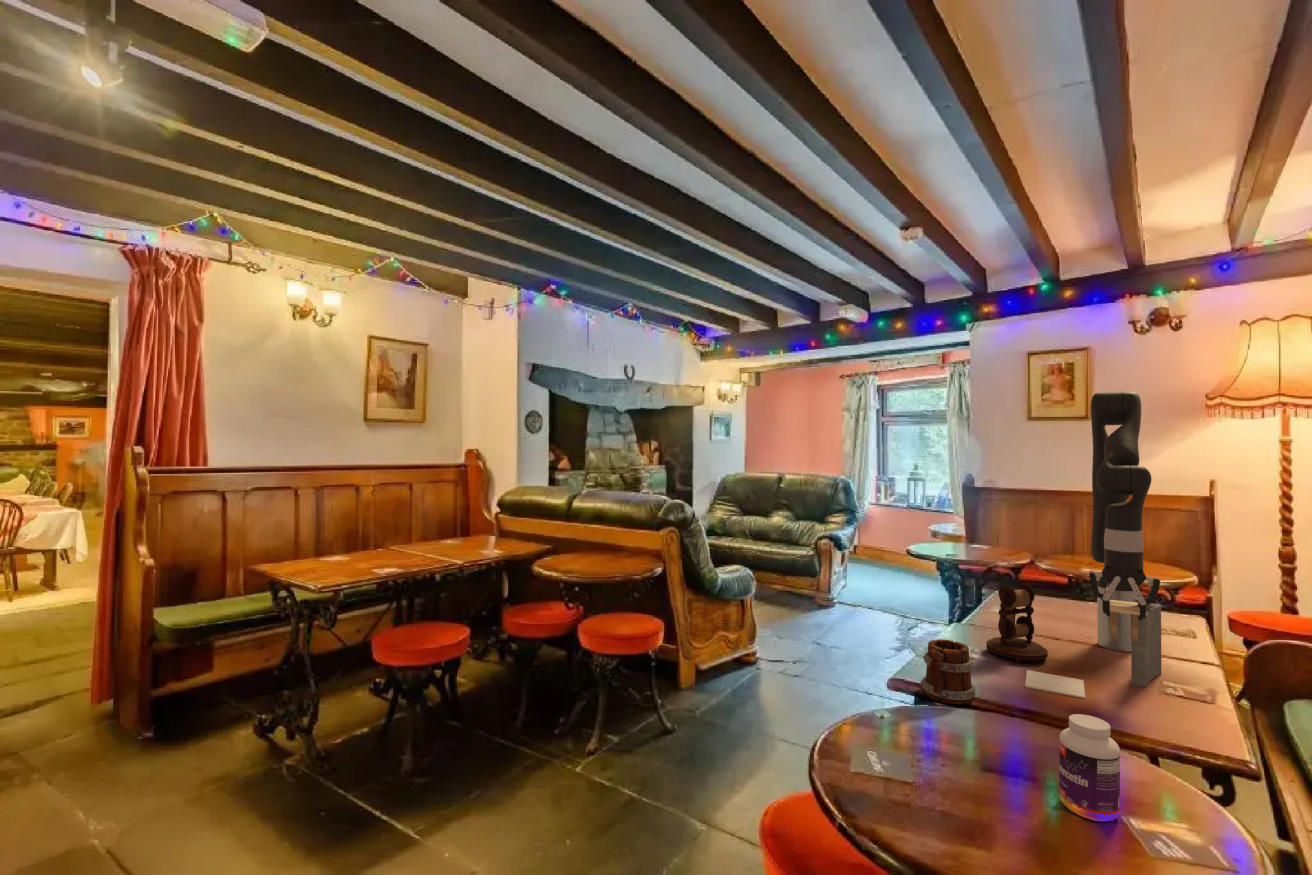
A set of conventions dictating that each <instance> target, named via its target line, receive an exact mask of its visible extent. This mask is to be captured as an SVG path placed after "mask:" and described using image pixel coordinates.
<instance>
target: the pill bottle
mask: <svg viewBox="0 0 1312 875" xmlns="http://www.w3.org/2000/svg"><path fill="white" fill-rule="evenodd" d="M1111 734H1112V733H1111V725H1110V723H1108V722H1107V721H1105V720H1103V718H1099V717H1095V716H1092V715H1088V714H1082V713H1081V714H1079V713H1074V714H1071V715H1069V717H1068V727H1066V728H1065V729H1063V730H1062V731H1061V732H1060V734H1059V741H1058V742H1059V750H1058V751H1059V753H1058V754H1059V758H1058V759H1059V763H1058V764H1059V766H1058V769H1059V773H1058V774H1059V775H1058V778H1059V779H1058V780H1059V781H1058V793H1059V792H1060V795H1061V796H1062V797H1063V798H1064V799H1065V800H1066V801H1068V802H1069V803H1070V804H1073V805H1075V806H1077V807H1078V808H1082V809H1084V810H1086V811H1088V812H1093V813H1098V814H1104V815H1106V814H1107V815H1109V814H1114V813H1117V812H1119V811H1120V812H1121V748H1120V746H1119V744H1118V743H1117V742H1116V741H1115V740H1114V739H1113V738H1111V737H1110V736H1111Z"/></svg>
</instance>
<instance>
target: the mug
mask: <svg viewBox="0 0 1312 875" xmlns="http://www.w3.org/2000/svg"><path fill="white" fill-rule="evenodd" d="M969 649H970V648H969V646H968V645H966V644H965V643H962V642H960V641H953V640H951V639H942V638H941V639H938V638H937V639H932V640H930V641H928V643H927V651H926V652H925V653H924V655H923V656H922V659H923V660H924V661H923V662H924V663H925V664H926V669H925V671H926V673H925V676H924V677H922V679H921V680H920V684H921V688H922V689H923V692H924V694H925V695H926V696H927V697H928V698H931V700H935V701H938V702H940V701H941V703H944V704H949V705H951V704H952V705H964V704H965V705H967V704H970V703H971V702H973V701H974V697H975V696H976V694H977V693H976V686H975V685H974V684H973V683H972V677H971V675H972V674H971V671H972V670H973V669H974V667H975V666H974V663H973V659H972V658H971V657H970V650H969Z"/></svg>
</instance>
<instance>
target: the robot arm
mask: <svg viewBox="0 0 1312 875" xmlns="http://www.w3.org/2000/svg"><path fill="white" fill-rule="evenodd" d="M1141 401H1142V400H1141V397H1140V396H1139V394H1138V393H1137V392H1136V391H1107V392H1106V391H1105V392H1104V391H1103V392H1102V391H1101V392H1096V393H1094V394H1093V395H1092V397H1091V400H1090V419H1091V421H1090V422H1091V432H1092V435H1091V436H1092V465H1091V466H1092V468H1091V470H1092V471H1091V488H1092V489H1091V490H1092V524H1091V526H1092V528H1091V537H1090V538H1091V539H1090V551H1091V557H1092V559H1093V560H1094V562H1096V563H1100V564H1103V569H1102V570H1101V571H1094V570H1090V571H1089V572H1088V576H1089V580H1090V585H1091V588H1092V593H1093V594H1092V595H1093V597H1095V598H1097V601H1096V603H1097V606H1096V607H1097V616H1096V617H1097V632H1096V634H1097V645H1098V646H1101V647H1102V648H1105V649H1109V650H1113V651H1119V652H1130V653H1131V614H1126V613H1118V612H1117V639H1116V638H1112V637H1111V633H1110V600H1117V601H1126V602H1134V603H1136V602H1135V601H1134V598H1136V597H1137V599H1138V601H1139V603H1138V606H1139V608H1140V615H1138V620H1142V618H1145V617H1146V605H1147V604H1151V603H1152V604H1156V601H1157V598H1158V593H1159V590H1160V585H1161V580H1160V579H1159V577H1158V576H1154V577H1152V576H1148V575H1146V574H1145V572H1144V549H1145V548H1144V547H1145V546H1144V536H1143V523H1142V522H1143V509H1144V508H1143V507H1144V504H1145V500H1146V498H1147V496H1148V493H1149V490H1150V487H1151V484H1152V474H1151V472H1150V470H1148V469H1147V467H1145V466H1142V465H1139V464H1140V452H1139V450H1140V449H1139V437H1140V431H1141V430H1140V429H1141V422H1142V420H1141V419H1142V402H1141ZM1106 426H1119V427H1117V428H1116V429H1115V430H1113V431H1112V432H1111V433H1110V434H1109V435H1108V433H1107V430H1106ZM1129 498H1130V499H1129ZM1128 499H1129V500H1128ZM1145 581H1146V582H1147V585H1148V586H1149V587H1150V588H1149V593H1148V597H1144V596H1143V594H1142V592H1141V591H1140V589H1139V587H1140V586H1141V585H1142V584H1143V583H1144V582H1145Z"/></svg>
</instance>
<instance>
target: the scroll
mask: <svg viewBox="0 0 1312 875" xmlns="http://www.w3.org/2000/svg"><path fill="white" fill-rule="evenodd" d="M1035 595H1036V594H1035V592H1034V589H1033V587H1032V586H1031V585H1030V584H1028V583H1026V582H1025V583H1024V582H1023V583H1020V584H1018V585H1017V587H1016V589H1014V588H1013V587H1012V586H1010V585H1008V584H1003V585H1001V586H1000V587H999V589H998V598H999V601H1000V605H999V607H1000V609H999V610H998V615H999V618H998V622H997V623H998V624H997V626H998V631H999V634H1000V636H997V637H993V638H990V639H988V640H987V641H986V644H985V646H986V650H987V652H988V653H991V652H992V653H994V654H997V655H999V656H1002V657H1007V658H1010V659H1015V661H1016V663H1017V664H1018V665H1019V664H1021V661H1022V660H1023V661H1040V660H1043V661H1045V660H1046V661H1047V658H1048V656H1049V653H1048V652H1049V651H1048V650H1047V648H1045V647H1044V646H1042V645H1041V644H1039V643H1037V642H1034V641H1033V638H1034V637H1033V634H1034V633H1035V625H1034V623H1033V618H1032V615H1033V613H1034V612H1035V609H1034V607H1033V602H1034V600H1035V597H1036V596H1035ZM1019 614H1026V615H1027V616H1025V615H1021V616H1019V617H1017V619H1016V615H1019ZM1024 637H1025V639H1024Z"/></svg>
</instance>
